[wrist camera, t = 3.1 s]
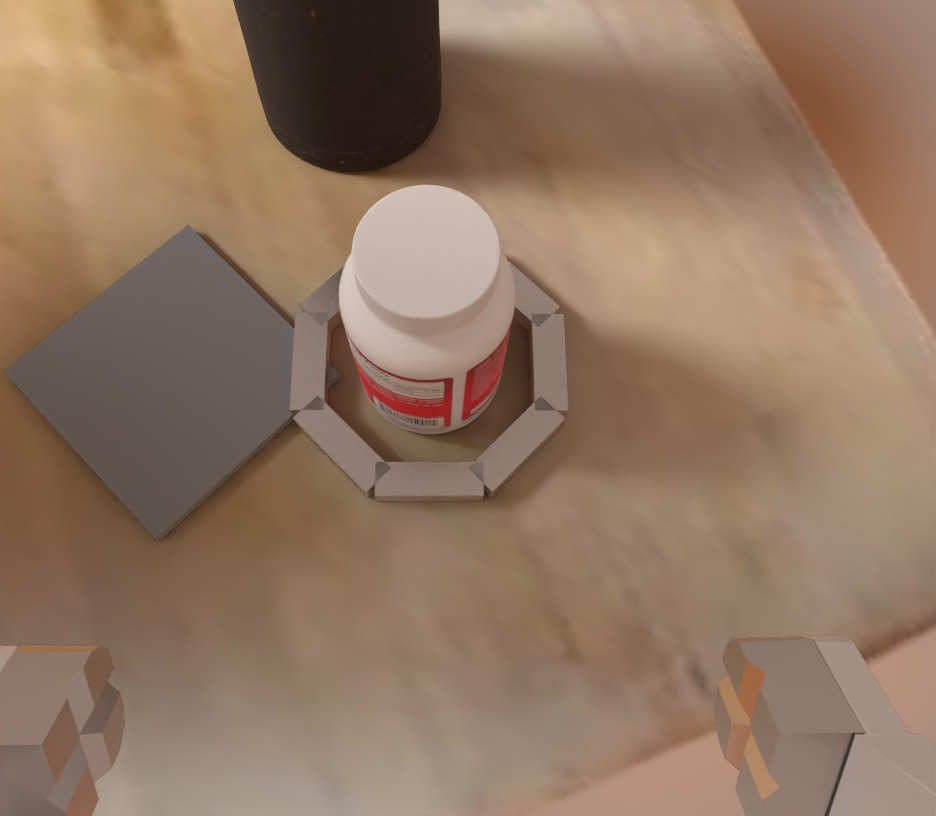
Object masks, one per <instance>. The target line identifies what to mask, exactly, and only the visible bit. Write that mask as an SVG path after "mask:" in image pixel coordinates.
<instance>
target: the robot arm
mask: <svg viewBox="0 0 936 816" xmlns="http://www.w3.org/2000/svg"><path fill="white" fill-rule="evenodd" d="M723 662H724V665H725V667H726V670H727V672H728V676H727V677H726V678H724V679H723V680H722V681H721V682H720V683H719V684H718V685H717V691H716V697H715V703H714V706H715V725H716V730H717V735H718V739H719V743H720V746H721V749H722V752H723V755H724V758H725V759H726V760H727V761H728V762H730V763H731V764H732V765H733V766H734V767H735V768H737V769H738V770H739V776H738V780H737V784H736V791H737V794H738V796H739V799H740V802H741V804H742V808H743V810H744V813H745V816H936V743H935V742H933V741H932V740H930V739H929V738H927V737H926V736H924V735H923V734H910V732H909V731H908V729H907V727H906V726H905V725H904V723H903V721H902V720H901V718H900V716H899V715H898V713H897V712H896V710H895V709H894V707H893V705H892V704H891V702H890V700H889V699H888V697H887V696H886V694H885V692H884V691H883V690H882V688H881V686H880V685H879V683H878V681H877V680H876V678H875V677H874V675H873V674H872V672H871V670H870V669H869V667H868V665H867V664H866V662H865V661H864V659H863V658H862V656H861V654H860V653H859V651H858V650H857V648H856V646H855V645H854V643H853V642H852V640H850V639H849V638H848V637H846V636H845V635H826V636H806V637H802V636H794V637H747V638H730V640H729V641H728V643H727V644H726V647H725V651H724V656H723ZM112 670H113V664H112V661H111V658H110V655H109V652H108V649H107V648H104V647H101V646H74V645H23V646H5V645H0V816H92V813H93V811H94V809H95V806H96V804H97V802H98V799H99V798H98V795H97V792H96V788H95V785H94V782H95V781H97V780H98V779H99V778H100V777H101V776H103V775H104V774H105V773H106V772H107V771H109V770H110V769H111V768H112V767H113V764H114V762H115V759H116V757H117V754H118V752H119V749H120V746H121V740H122V735H123V729H124V706H123V702H122V698H121V694H120V692H119V691H117V690H116V689H115V688H114V687H113V686H111V685H110V684H109V683H108V682H107V680H108V678H109V676H110V674H111V672H112Z"/></svg>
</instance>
